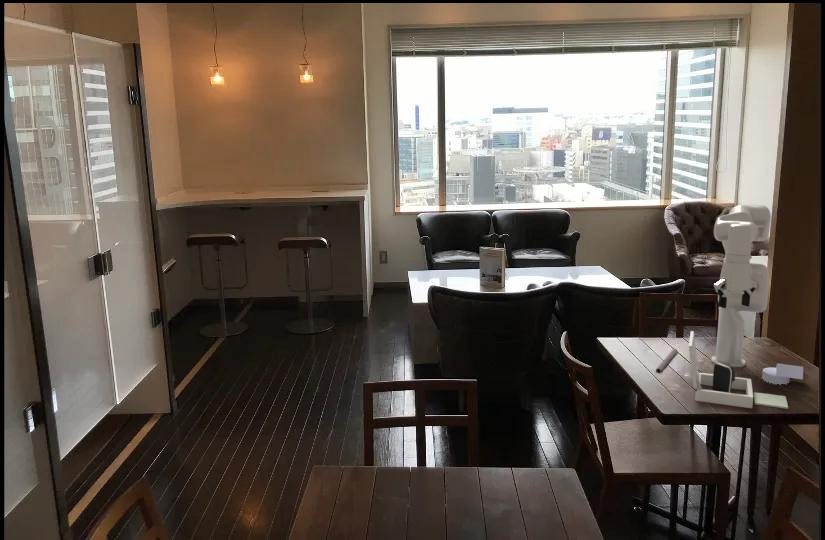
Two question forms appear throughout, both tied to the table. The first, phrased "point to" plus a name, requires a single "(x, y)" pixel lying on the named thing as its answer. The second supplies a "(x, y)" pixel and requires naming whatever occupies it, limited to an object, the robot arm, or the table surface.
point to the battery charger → (723, 377)
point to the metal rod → (666, 360)
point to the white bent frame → (708, 380)
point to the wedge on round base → (782, 373)
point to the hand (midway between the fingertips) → (733, 306)
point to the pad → (770, 400)
